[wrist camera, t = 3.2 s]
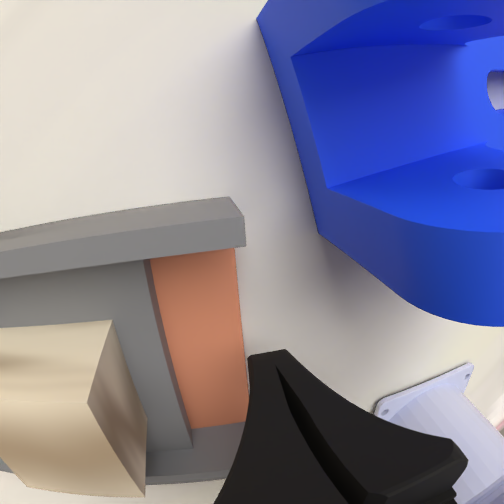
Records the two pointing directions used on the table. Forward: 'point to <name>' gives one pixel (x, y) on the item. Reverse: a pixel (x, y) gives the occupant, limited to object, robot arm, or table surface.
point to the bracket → (401, 140)
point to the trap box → (149, 317)
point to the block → (71, 410)
